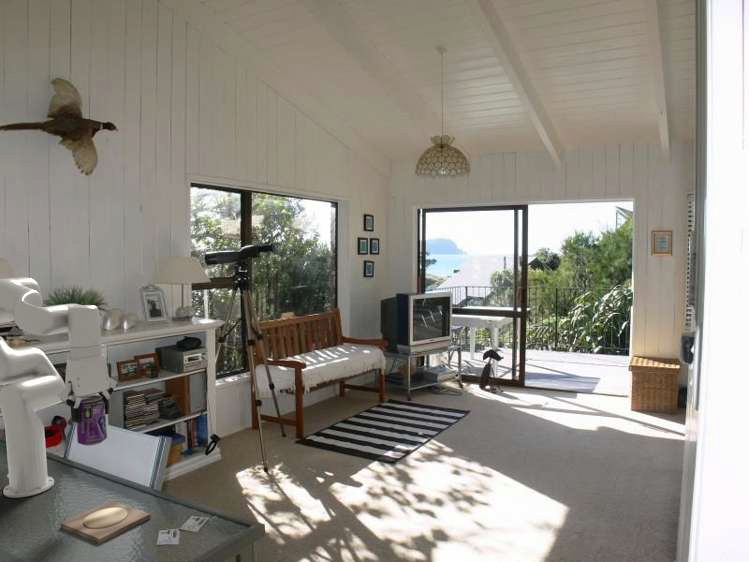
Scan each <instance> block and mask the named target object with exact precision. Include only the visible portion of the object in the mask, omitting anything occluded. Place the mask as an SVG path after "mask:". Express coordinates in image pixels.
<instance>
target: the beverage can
mask: <svg viewBox="0 0 749 562" xmlns="http://www.w3.org/2000/svg"><path fill="white" fill-rule="evenodd" d="M79 407H81V415H82V422H80V423H77V422H75V423H76V424H75V425H76V438H77V444H80V445H83V446H89V447H90V446H94V445H95V446H96V445H98V444H101V443H103V441H106V440H107V438H108V435H107V434H108V432H107V419H106V418H107V417H106V414H105V403H104V401H103V400H102V396H99V395H95V394H92V395H88V396H84V397H82V399H81V401H80V404H79Z"/></svg>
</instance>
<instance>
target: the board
mask: <svg viewBox="0 0 749 562" xmlns="http://www.w3.org/2000/svg"><path fill="white" fill-rule="evenodd" d="M151 517H152V516H151V513H149V512H146V511H143V510H140V509H137V508H134V507H132V506H129V505H126V504H122V503H119V502H117V501H113V500H109V501H107V502H105V503H103V504H100V505H98V506H95V507H93V508H91V509H89V510H87V511H84V512H82V513H80V514H78V515H76V516H73V517H71V518H69V519H66V520H64V521H62V522H60V528H61V529H64V530H66V531H68V532H71V533H73V534H75V535H78V536H80V537H82V538H85V539H88V540H90V541H92V542H94V543H97V544H100V545H101V544H102V543H104V542H106V541H108V540H111V539H112V538H115V537H117V536H119V535H120V534H122V533H124V532H126V531H129V530H131V529H132V528H135V527H136V526H138V525H141V524H142V523H144V522H147V521H148V520H150V519H151Z"/></svg>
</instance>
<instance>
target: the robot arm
mask: <svg viewBox="0 0 749 562" xmlns="http://www.w3.org/2000/svg"><path fill="white" fill-rule="evenodd" d="M43 301H44V300H43V296H42V291H41V288H40V285H39V283H38V282H37V281H36V280H35V279H33V278H30V277H28V276H27V277H26V276H25V277H23V276H21V277H20V276H19V277H11V278H9V277H8V278H0V324H7V323H10V322H14V323H15V324H16V326H17V327H18V328H19V329H20V330H22V331H25V332H27V333H29V334H32V335H34V336H40V337H46V336H52V335H56V334H62V333H68V341H69V342H68V343H69V354H70V355H69V356H70V358H69V359H67V361H66V366H65V376H64V377H65V382H64V380H63V378H62V376H61V375H60V374H59V372H58V370H57V369H56V368H55V366H54V364H53V363H52V362H51V361H50V359H49V358H48V356H47V355H46V354H45V353H44V351H42V350H41V349H39V348H38V347H33V346H31V347H30V346H27V347H23V348H22V347H21V348H16V349H15V348H11V347H10V346H9V345H8V343H7V342H6V340H5V338H4V337H2V336H1V335H0V386H4V387H3V388H2V389H1V390H0V411H1V414H2V419H3V424H4V431H5V444H6V455H7V468H8V469H7V470H8V472H7V475H6V477H7V478H8V482H9V484H8V485H6V486H5V487H4V488H3V495H4V497H7V498H12V499H13V498H17V499H18V498H25V497H30V496H31V497H32V496H35V495H38V494H41V493H44V492H45V491H47V490H49V489H51V488H53V486H54V484H55V479H54V478H53V477H52V476H49V475H48V463H47V461H48V460H47V451H46V437H45V426H44V423H43V421H42V419H40V418H39V417H38V415H37V414H36V412H37V411H41V410H42V409H43V410H44V409H46V408H49V407H53V406H56V405H58V404H60V403H62V402H63V403H64V404H65V405H66V406H68V408H70V414H71V416H70V417H71V420H72V422H73V423H76V422H77V423H80V422H82V415H81V407H79V404H80V401H81V399H82V397H86V396H93V395H95V394H98V395H99V396H102V400H103V401H104V403H105V415H109V413H110V411H109V409H110V405H109V404H110V403H109V400H110V399H111V395H112V393H113V392H114V391H115V390H114V389H115V388H116V386H117V384H118V381H117V380H115V379H113V378H112V377H110V376H109V369H108V365H107V360H106V358H105V354H103V351H104V350H105V349H106V345H105V343H102V337H101V336H102V335H101V321H100V320H101V319H100V310H99V307H98V306H96V305H94V304H93V305H92V304H84V305H83V304H79V303H66V304H57V305H49V306H43V303H44V302H43ZM69 397H70V398H69Z"/></svg>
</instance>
